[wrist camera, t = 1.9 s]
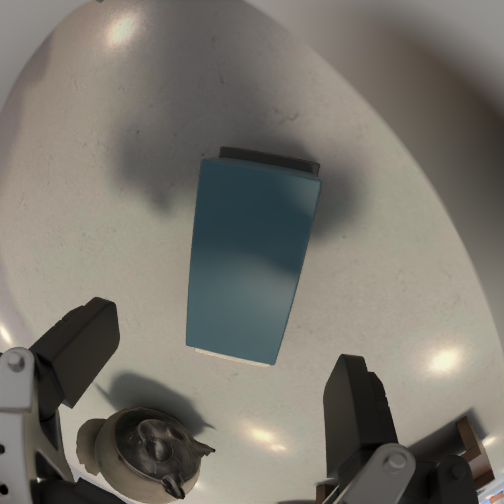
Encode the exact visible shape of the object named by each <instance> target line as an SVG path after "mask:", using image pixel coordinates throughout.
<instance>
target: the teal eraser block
mask: <svg viewBox="0 0 504 504" xmlns="http://www.w3.org/2000/svg"><path fill="white" fill-rule="evenodd" d="M319 168H320V164H318V163H315V162H310V161H305V160H301V159H296V158H291V157H286V156H280V155H275V154H270V153H264V152H258V151H252V150H245V149H239V148H232V147H221V149H220V155H219V158H210V159H203V160H202V161H201V167H200V174H199V182H198V190H197V199H196V208H195V217H194V227H193V237H192V248H191V260H190V273H189V287H188V303H187V323H186V345H187V346H191V347H194V350H195V351H196V352H199V353H203V354H207V355H211V356H215V357H219V358H223V359H228V360H232V361H237V362H241V363H246V364H251V365H256V366H261V367H266V368H269V367H270V365H274V364H275V362H276V359H277V356H278V353H279V349H280V346H281V343H282V339H283V336H284V332H285V329H286V325H287V322H288V318H289V315H290V311H291V308H292V304H293V300H294V297H295V293H296V289H297V285H298V282H299V278H300V274H301V270H302V266H303V262H304V258H305V254H306V250H307V246H308V242H309V238H310V234H311V229H312V225H313V221H314V216H315V212H316V207H317V203H318V198H319V194H320V189H321V184H322V181H321V180H320V179H319V178H318V172H319Z"/></svg>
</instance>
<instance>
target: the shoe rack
mask: <svg viewBox="0 0 504 504" xmlns="http://www.w3.org/2000/svg"><path fill="white" fill-rule="evenodd" d="M456 425H457V427H458V430H459V433H460V435H461V438H462V441H463V443H464V446H465V449H466V451H467V452H465V453H464V454H462V455H460V456H461V457H463V458H464V459H465V460H466V461H467V462H468V463H469V465H470V468H471V471H472V475H473V479H474V483H475V487H476V491H478V490H480V489H481V488H483V487H485V486H486V485H488V484H489V483H491V482H492V481H494V480H495V477H494V474H493V471H492V468H491V465H490V462H489V459H488V456H487V453H486V451H485V448H484V445H483V443H482V441H481V439H480V437H479V436H478V434H477V432H476V431H475V429H474V427H473V426H472V424H471V423H470V421H469V419H468V418H467V416H465V417H464V418H463V419H461V420H460V421H458V422H457V423H456ZM334 489H335V488H334V487H331V486H328V485H322V486H318V487H316V504H322V503H323V502H324V501H325V500H326V498H327V497H328V496H329V495H330V494H331V493H332V492H333V491H334Z"/></svg>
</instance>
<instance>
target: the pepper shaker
mask: <svg viewBox="0 0 504 504" xmlns="http://www.w3.org/2000/svg"><path fill="white" fill-rule="evenodd" d="M490 502H491V504H504V494H503V491H502V492H500V493H498V494H497V495H495V496H494V497H492V498H491V499H490Z"/></svg>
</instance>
